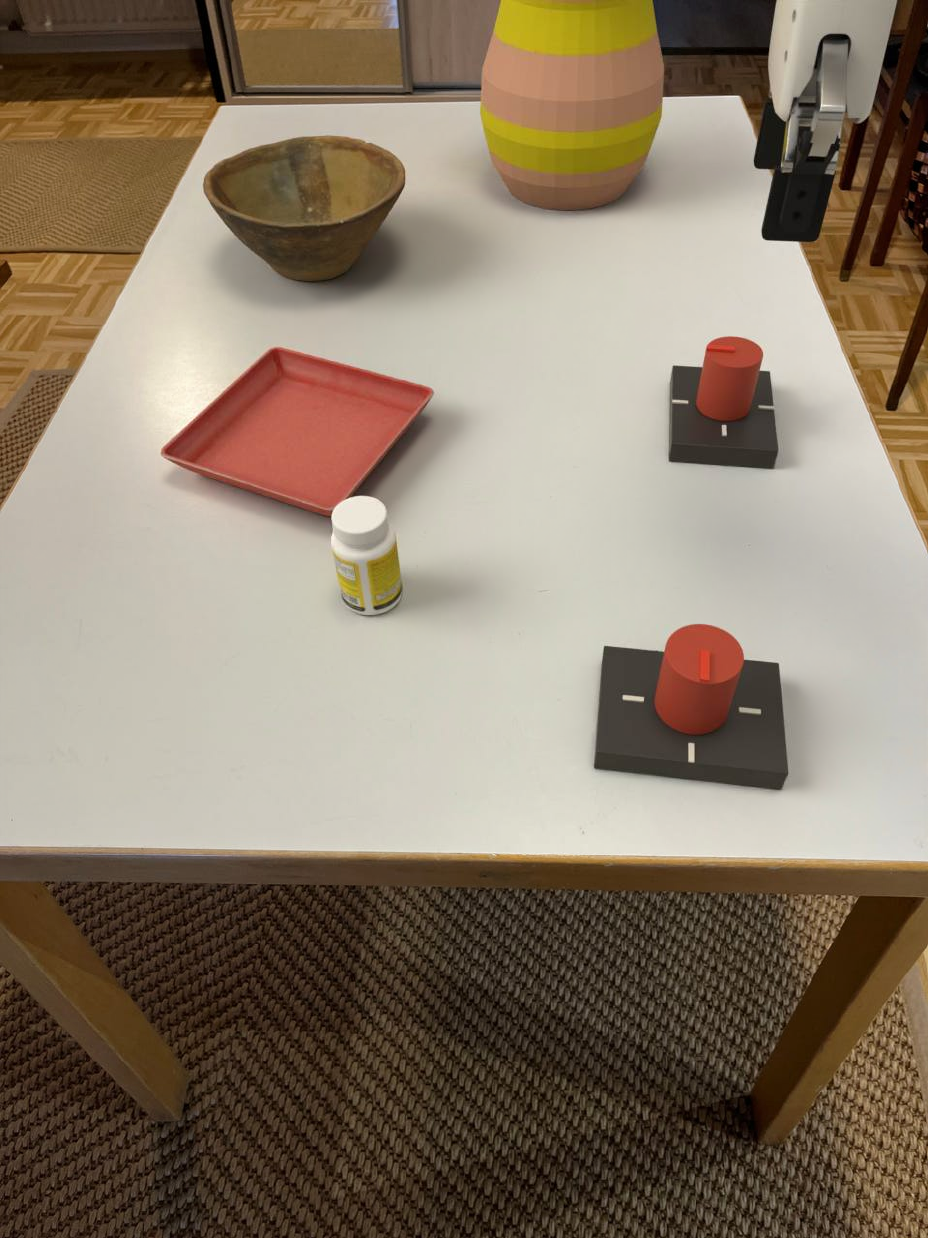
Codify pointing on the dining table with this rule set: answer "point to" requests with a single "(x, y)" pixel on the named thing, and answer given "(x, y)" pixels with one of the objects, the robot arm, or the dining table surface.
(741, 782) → the dark tick-marked fixture
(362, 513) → the supplement bottle
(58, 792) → the dining table surface
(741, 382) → the red cylindrical knob
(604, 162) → the vase
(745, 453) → the dark square slab
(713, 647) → the near red knob
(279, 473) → the plant saucer
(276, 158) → the bowl
